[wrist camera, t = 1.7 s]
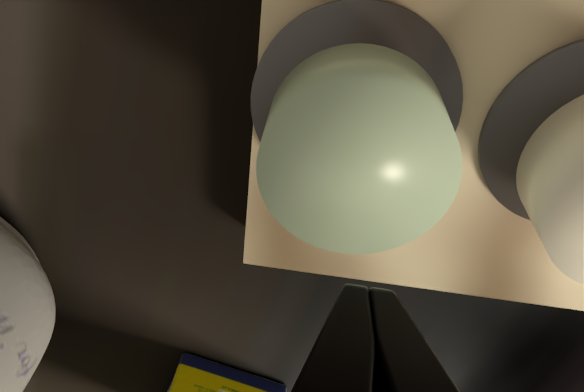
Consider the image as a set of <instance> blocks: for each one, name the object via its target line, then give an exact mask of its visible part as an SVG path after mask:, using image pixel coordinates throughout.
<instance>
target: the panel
mask: <svg viewBox="0 0 584 392" xmlns="http://www.w3.org/2000/svg"><path fill="white" fill-rule="evenodd" d="M354 43H365V44H375V45H380V46H385V47H388V48H391V49H393V50H396V51H398V52H400V53H402V54H404V55H406V56H408V57H409V58H411V59H412V60H414V61H415V62H417V63H418V64H419V65H420V66H421V67H422V68H423V69H424V70H425V71H426V72H427V73H428V74H429V76H430V77H431V78H432V79H433V81H434V83H435V84H436V86H437V88H438V90H439V92H440V95H441V97H442V100H443V103H444V105H445V108H446V110H447V113H448V115H449V118H450V121H451V123H452V126H453V128H454V131H455V133H456V136H457V139H458V141H459V144H460V148H461V153H462V166H463V169H462V177H461V182H460V186H459V189H458V192H457V194H456V197H455V199H454V201H453V203H452V204H451V206H450V208H449V209H448V211H447V212H446V213H445V215H444V216H443V217H442V218H441V219H440V221H438V222H437V223H436V224H435V225H434V226H433V227H432V228H431V229H430V230H428V231H427V232H426V233H424V234H423V235H421V236H420V237H418V238H416V239H415V240H413V241H411V242H409V243H407V244H404V245H402V246H400V247H397V248H394V249H390V250H387V251H382V252H377V253H369V254H345V253H337V252H332V251H328V250H324V249H321V248H317V247H315V246H313V245H310V244H308V243H306V242H304V241H302V240H300V239H298V238H297V237H295V236H294V235H292V234H291V233H290V232H288V231H287V230H286V229H285V228H284V227H282V226H281V225H280V224H279V223H278V222H277V220H276V219H275V218H274V217H273V216H272V215H271V213H270V212H269V210H268V208H267V207H266V205H265V203H264V201H263V199H262V197H261V194H260V191H259V188H258V184H257V177H256V160H257V154H258V149H259V146H260V142H261V139H262V135H263V132H264V128H265V125H266V121H267V118H268V114H269V111H270V107H271V104H272V101H273V98H274V96H275V94H276V92H277V90H278V88H279V86H280V85H281V83H282V82H283V80H284V79H285V77H286V76H287V75H288V74H289V73H290V72H291V71H292V70H293V69H294V68H295V67H296V66H297V65H299V64H300V63H301V62H302V61H304V60H305V59H307V58H308V57H310V56H312V55H314V54H316V53H318V52H320V51H322V50H325V49H328V48H331V47H334V46H339V45H344V44H354ZM582 95H584V0H262V8H261V21H260V35H259V49H258V63H257V69H256V72H255V75H254V79H253V82H252V89H251V114H252V121H253V133H252V147H251V161H250V174H249V188H248V202H247V216H246V230H245V244H244V258H243V263H244V264H252V265H259V266H266V267H273V268H280V269H287V270H294V271H302V272H309V273H316V274H323V275H330V276H337V277H344V278H352V279H359V280H366V281H373V282H380V283H387V284H394V285H402V286H409V287H416V288H423V289H430V290H437V291H444V292H452V293H459V294H466V295H473V296H480V297H487V298H494V299H502V300H509V301H516V302H523V303H530V304H537V305H544V306H552V307H559V308H566V309H573V310H580V311H584V285H583V284H581V283H579V282H576V281H574V280H572V279H571V278H569V277H568V276H566V275H565V274H563V273H562V272H561V271H560V270H559V269H558V268H557V267H556V266H555V265H554V263H553V262H552V261H551V259H550V257H549V255H548V254H547V252H546V250H545V248H544V246H543V244H542V242H541V240H540V238H539V236H538V234H537V232H536V230H535V228H534V226H533V224H532V222H531V220H530V218H529V216H528V214H527V212H526V210H525V208H524V206H523V204H522V202H521V200H520V197H519V194H518V191H517V185H516V172H517V166H518V162H519V159H520V156H521V153H522V151H523V149H524V147H525V145H526V143H527V142H528V140H529V139H530V137H531V136H532V135H533V133H534V132H535V131H536V130H537V128H538V127H539V126H540V125H541V124H542V123H543V122H544V121H545V120H546V119H547V118H548V117H549V116H550V115H552V114H553V113H554V112H556V111H557V110H558V109H559V108H561V107H562V106H564V105H565V104H567V103H569V102H570V101H572V100H573V99H575V98H578V97H580V96H582Z"/></svg>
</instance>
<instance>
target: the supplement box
mask: <svg viewBox="0 0 584 392" xmlns="http://www.w3.org/2000/svg"><path fill="white" fill-rule="evenodd" d="M167 392H287V387H286V386H285V385H283V384H279V383H277V382H274V381H271V380H268V379H265V378H262V377H259V376H256V375H252V374H249V373H246V372H243V371H240V370H237V369H234V368H231V367H228V366H225V365H222V364H219V363H216V362H213V361H210V360H206V359H203V358H201V357H198V356H195V355H191V354H188V353H183V354H182V355H181V358H180V361H179V364H178V367H177V370H176V373H175V375H174V377H173V380H172V382H171V384H170V386H169V388H168V390H167Z"/></svg>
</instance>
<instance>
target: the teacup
mask: <svg viewBox="0 0 584 392" xmlns="http://www.w3.org/2000/svg"><path fill="white" fill-rule="evenodd" d="M55 311H56V309H55V300H54V295H53V291H52V288H51V285H50V283H49V280H48V278H47V276H46V273H45V272H44V270H43V268H42V267H41V265H40V262H39V260H38V258H37V256H36V255H35V253H34V251H33V250H32V248H31V247H30V245H29V244H28V243H27V241H26V240H25V239H24V238H23V236H22V235H21V234H20V233H19V232H18V231H17V230H16V229H15V228H14V227H12V226H11V225H10V224H9V223H8V222H6V221H5V220H4V219H3V218H1V217H0V392H23V390H24V389H25V387H26V385H27V384H28V382H29V380H30V379H31V377H32V375H33V373H34V372H35V370H36V368H37V366H38V364H39V363H40V361H41V359H42V357H43V355H44V353H45V350H46V348H47V346H48V344H49V341H50V339H51V336H52V333H53V329H54V324H55Z"/></svg>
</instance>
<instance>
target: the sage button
mask: <svg viewBox="0 0 584 392" xmlns="http://www.w3.org/2000/svg"><path fill="white" fill-rule="evenodd" d="M462 169H463V166H462V153H461V148H460V144H459V141H458V139H457V136H456V133H455V131H454V128H453V126H452V123H451V121H450V118H449V115H448V113H447V110H446V108H445V105H444V103H443V100H442V97H441V95H440V92H439V90H438V88H437V86H436V84H435V83H434V81H433V79H432V78H431V77H430V76H429V74H428V73H427V72H426V71H425V70H424V69H423V68H422V67H421V66H420V65H419V64H418V63H417V62H415V61H414V60H412V59H411V58H409V57H408V56H406V55H404V54H402V53H400V52H398V51H396V50H393V49H391V48H388V47H385V46H380V45H375V44H365V43H354V44H344V45H339V46H334V47H331V48H328V49H325V50H322V51H320V52H318V53H316V54H314V55H312V56H310V57H308V58H307V59H305V60H304V61H302V62H301V63H300V64H299V65H297V66H296V67H295V68H294V69H293V70H292V71H291V72H290V73H289V74H288V75H287V76H286V77H285V79H284V80H283V82H282V83H281V85H280V86H279V88H278V90H277V92H276V94H275V96H274V98H273V101H272V104H271V107H270V111H269V114H268V118H267V121H266V125H265V128H264V132H263V135H262V139H261V142H260V146H259V149H258V154H257V160H256V177H257V184H258V188H259V191H260V194H261V197H262V199H263V201H264V203H265V205H266V207H267V208H268V210H269V212H270V213H271V215H272V216H273V217H274V218H275V219H276V220H277V222H278V223H279V224H280V225H281V226H282V227H284V228H285V229H286V230H287V231H288V232H290V233H291V234H292V235H294V236H295V237H297V238H298V239H300V240H302V241H304V242H306V243H308V244H310V245H313V246H315V247H317V248H321V249H324V250H328V251H332V252H337V253H345V254H369V253H377V252H382V251H387V250H390V249H394V248H397V247H400V246H402V245H404V244H407V243H409V242H411V241H413V240H415V239H416V238H418V237H420V236H421V235H423V234H424V233H426V232H427V231H428V230H430V229H431V228H432V227H433V226H434V225H435V224H436V223H437V222H438V221H440V219H441V218H442V217H443V216H444V215H445V213H446V212H447V211H448V209H449V208H450V206H451V204H452V203H453V201H454V199H455V197H456V194H457V192H458V189H459V186H460V182H461V177H462Z"/></svg>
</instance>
